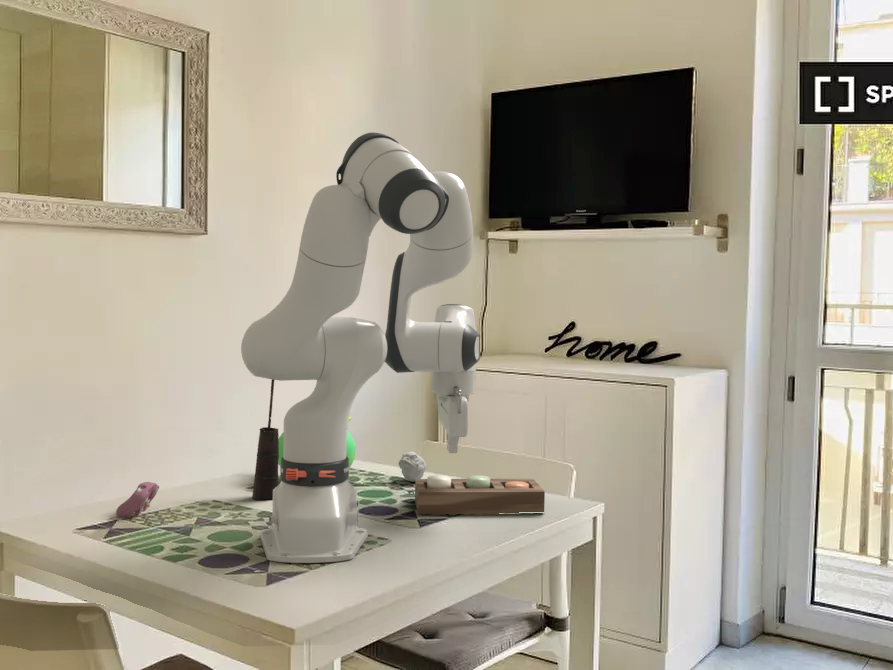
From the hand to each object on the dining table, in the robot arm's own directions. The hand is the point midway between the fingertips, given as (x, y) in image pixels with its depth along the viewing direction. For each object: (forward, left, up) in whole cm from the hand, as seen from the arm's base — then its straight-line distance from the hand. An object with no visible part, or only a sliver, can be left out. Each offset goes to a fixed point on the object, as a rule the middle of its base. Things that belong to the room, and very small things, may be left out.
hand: (452, 452), depth 183 cm
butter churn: (+7, +39, -11) cm, 41 cm away
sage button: (-1, -5, -8) cm, 9 cm away
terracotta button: (-1, -13, -9) cm, 16 cm away
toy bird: (+25, +29, -11) cm, 40 cm away
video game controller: (-2, +61, -12) cm, 62 cm away
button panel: (-1, -5, -11) cm, 12 cm away
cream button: (-1, +3, -8) cm, 8 cm away
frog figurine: (+23, +7, -11) cm, 27 cm away
